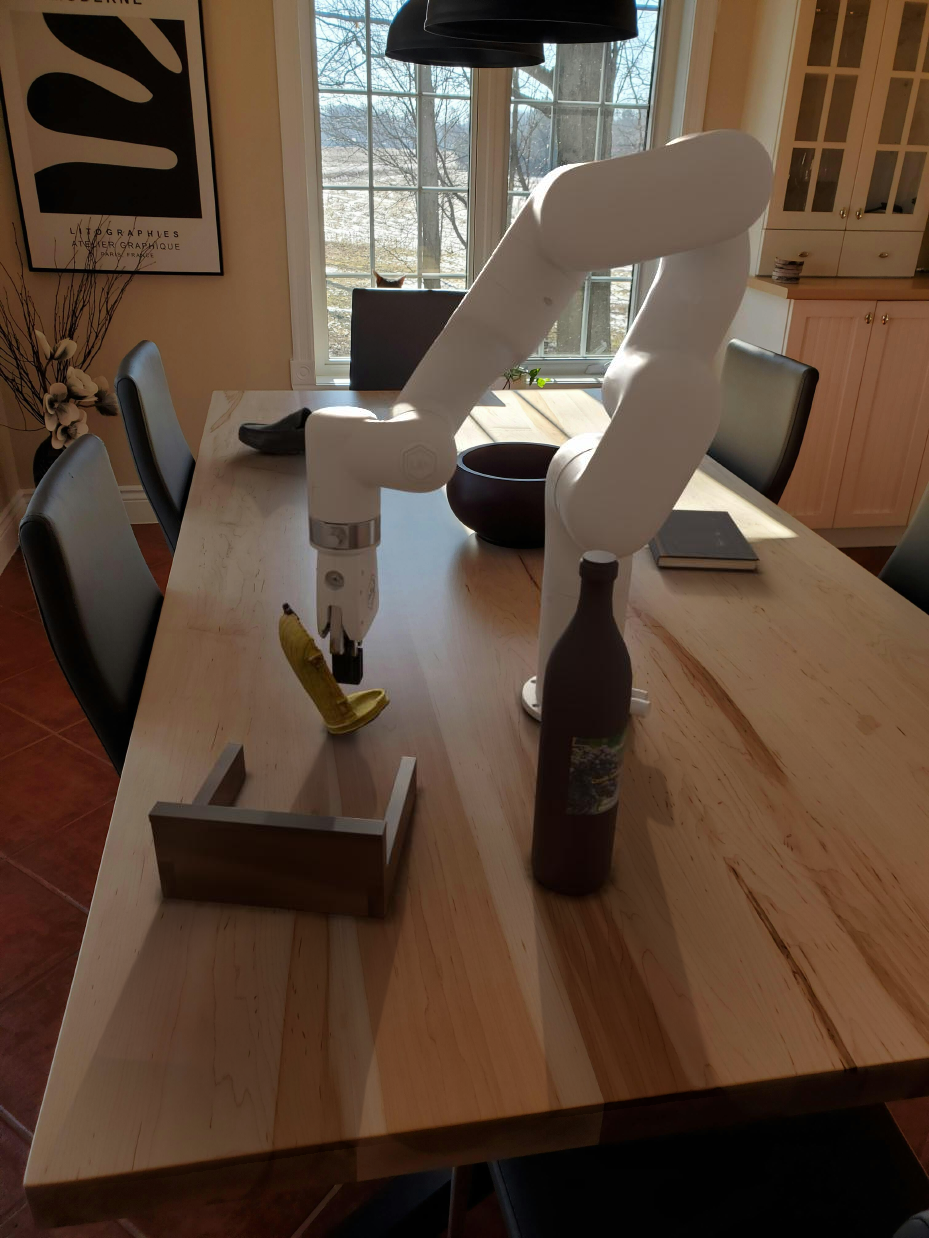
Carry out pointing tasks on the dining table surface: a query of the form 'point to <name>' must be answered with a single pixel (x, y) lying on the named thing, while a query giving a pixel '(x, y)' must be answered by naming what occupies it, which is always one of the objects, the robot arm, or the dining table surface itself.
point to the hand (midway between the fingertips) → (347, 680)
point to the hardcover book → (702, 543)
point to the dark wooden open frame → (279, 848)
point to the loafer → (277, 434)
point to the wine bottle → (582, 739)
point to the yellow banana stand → (326, 680)
